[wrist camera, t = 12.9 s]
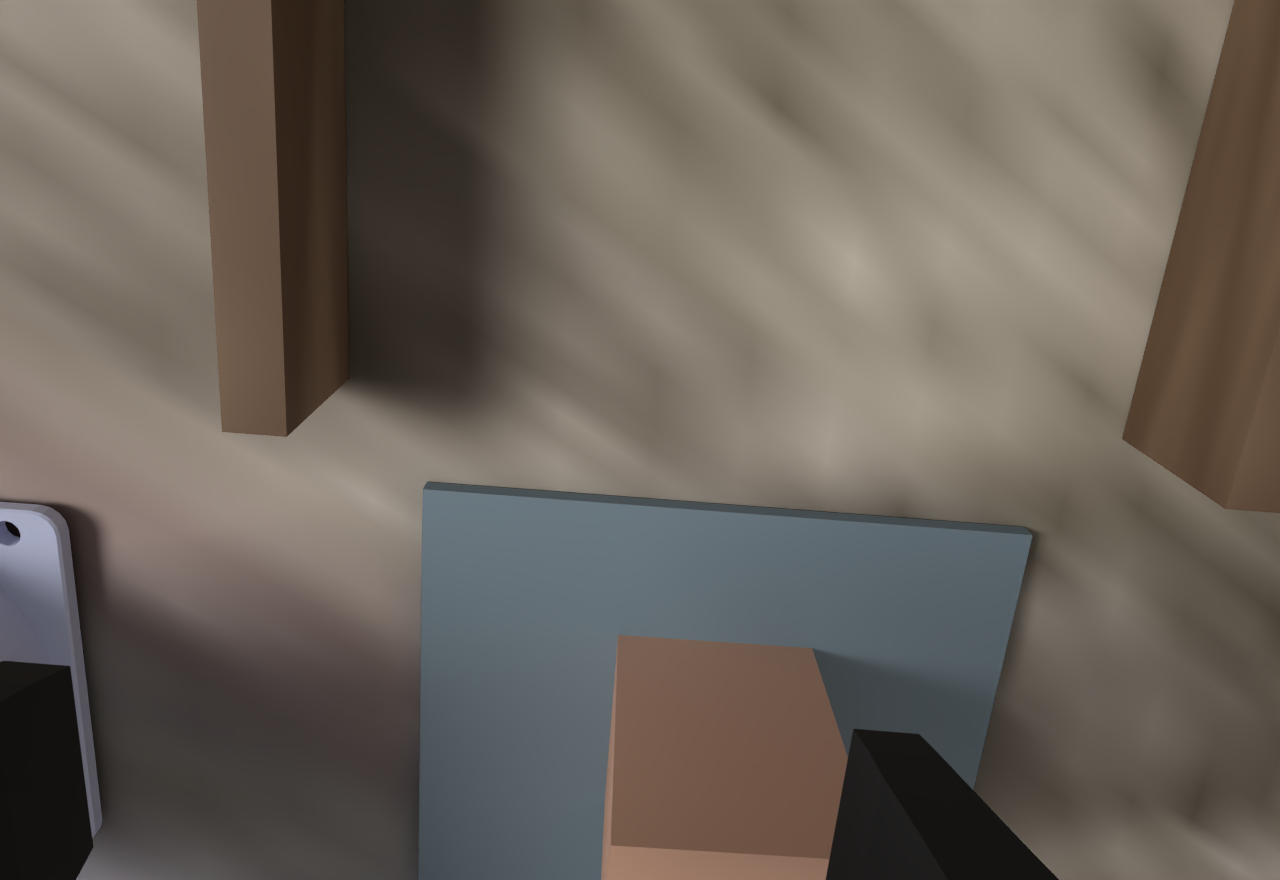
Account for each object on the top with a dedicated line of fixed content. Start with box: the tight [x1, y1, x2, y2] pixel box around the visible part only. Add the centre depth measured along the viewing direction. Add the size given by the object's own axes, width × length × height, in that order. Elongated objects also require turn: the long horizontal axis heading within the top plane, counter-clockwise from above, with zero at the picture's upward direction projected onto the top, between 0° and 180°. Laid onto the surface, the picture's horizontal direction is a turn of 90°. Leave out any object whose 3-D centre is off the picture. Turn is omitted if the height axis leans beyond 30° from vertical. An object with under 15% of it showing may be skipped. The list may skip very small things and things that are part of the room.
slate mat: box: [418, 482, 1033, 880], centre depth 21 cm, size 12×10×1 cm
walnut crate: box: [197, 0, 1280, 513], centre depth 15 cm, size 17×12×4 cm
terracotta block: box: [601, 635, 848, 880], centre depth 18 cm, size 4×4×6 cm
